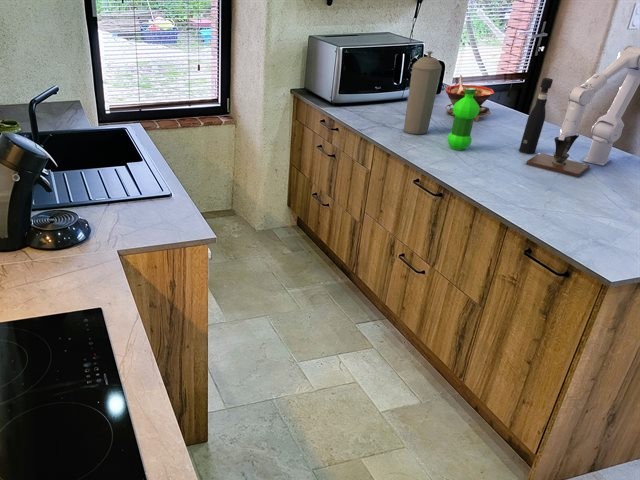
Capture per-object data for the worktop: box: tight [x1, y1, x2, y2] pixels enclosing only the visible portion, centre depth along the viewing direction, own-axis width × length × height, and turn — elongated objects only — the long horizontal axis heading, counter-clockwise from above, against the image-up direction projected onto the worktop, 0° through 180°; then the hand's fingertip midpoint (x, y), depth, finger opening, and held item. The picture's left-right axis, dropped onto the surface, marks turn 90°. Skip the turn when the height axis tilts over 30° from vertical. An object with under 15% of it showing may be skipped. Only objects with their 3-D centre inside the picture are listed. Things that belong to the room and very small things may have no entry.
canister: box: [403, 50, 443, 135], centre depth 266 cm, size 13×13×35 cm
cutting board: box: [526, 152, 591, 178], centre depth 239 cm, size 14×20×2 cm
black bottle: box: [518, 77, 554, 155], centre depth 246 cm, size 6×6×30 cm
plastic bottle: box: [447, 88, 480, 151], centre depth 249 cm, size 10×10×25 cm
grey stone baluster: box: [552, 136, 571, 165], centre depth 235 cm, size 6×6×12 cm
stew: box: [444, 74, 495, 122], centre depth 298 cm, size 28×24×16 cm
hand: (561, 153), depth 236 cm, fingers open, 7 cm apart
